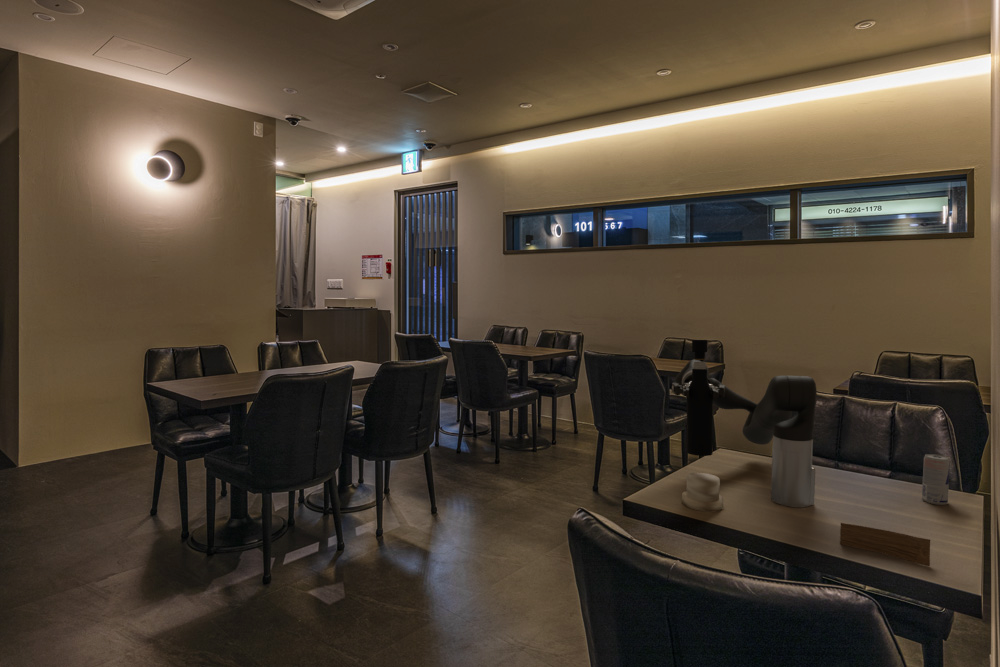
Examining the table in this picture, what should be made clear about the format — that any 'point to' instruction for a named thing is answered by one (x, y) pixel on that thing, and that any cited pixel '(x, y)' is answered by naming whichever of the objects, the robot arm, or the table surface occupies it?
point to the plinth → (702, 504)
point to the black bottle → (699, 406)
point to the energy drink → (935, 479)
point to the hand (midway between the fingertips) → (700, 394)
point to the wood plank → (886, 543)
